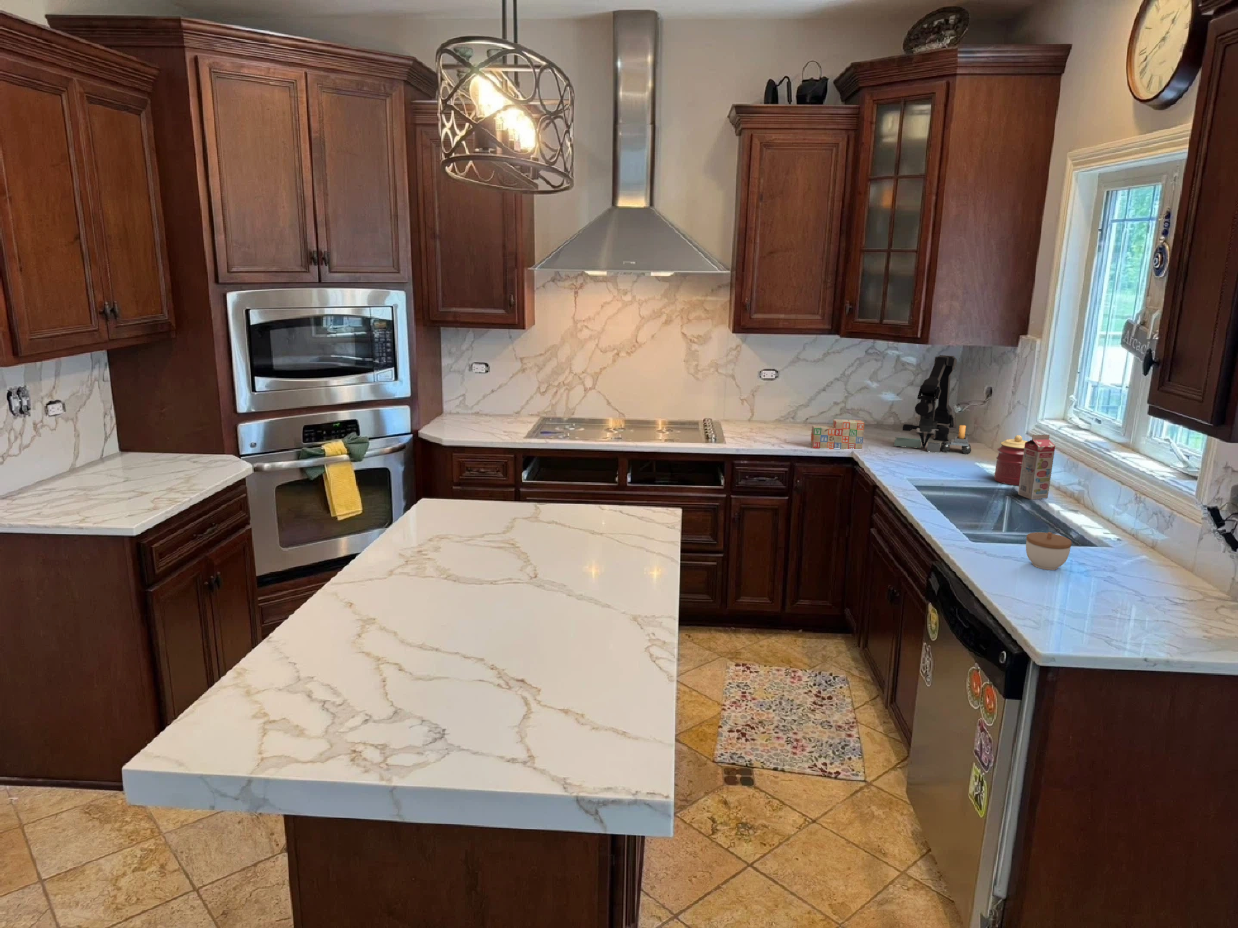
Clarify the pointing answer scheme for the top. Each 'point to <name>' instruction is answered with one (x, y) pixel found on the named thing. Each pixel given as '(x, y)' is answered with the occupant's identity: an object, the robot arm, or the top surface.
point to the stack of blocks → (838, 435)
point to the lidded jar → (1047, 550)
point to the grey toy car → (956, 441)
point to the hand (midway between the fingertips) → (923, 447)
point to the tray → (907, 442)
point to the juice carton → (1036, 467)
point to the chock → (933, 447)
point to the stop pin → (961, 431)
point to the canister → (1010, 461)
